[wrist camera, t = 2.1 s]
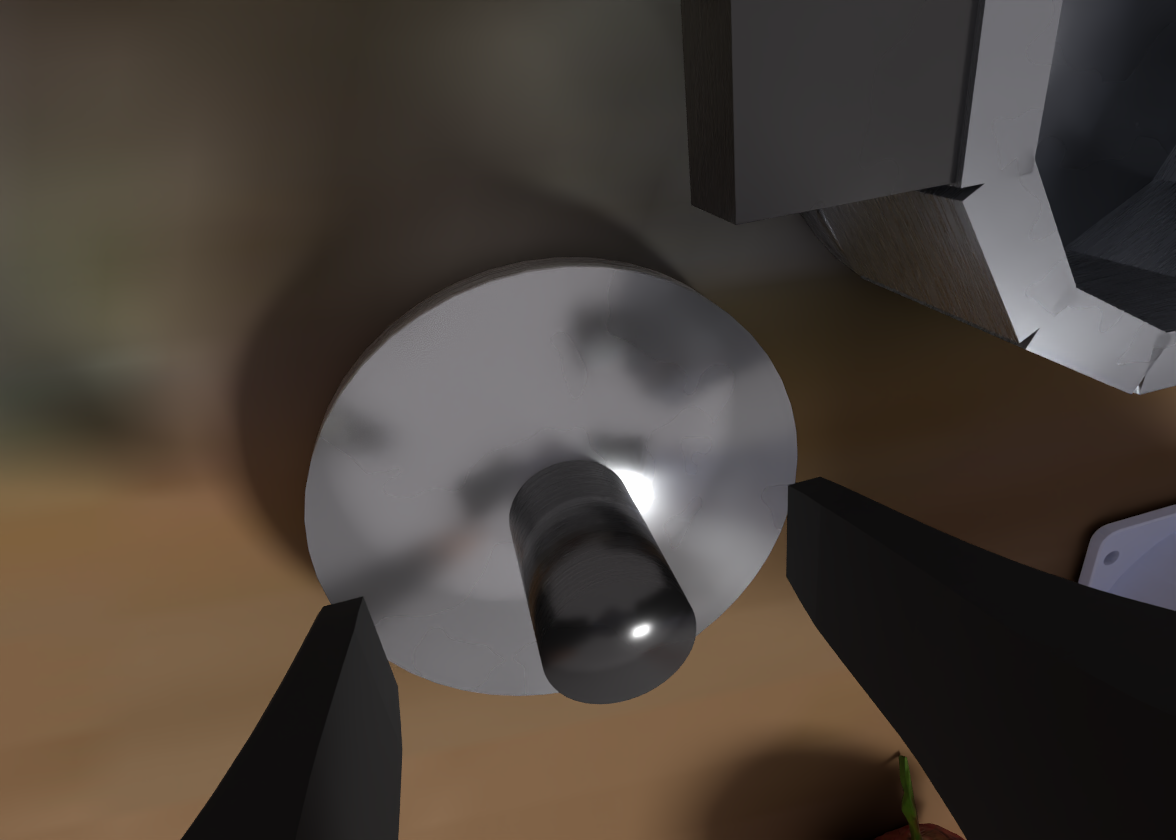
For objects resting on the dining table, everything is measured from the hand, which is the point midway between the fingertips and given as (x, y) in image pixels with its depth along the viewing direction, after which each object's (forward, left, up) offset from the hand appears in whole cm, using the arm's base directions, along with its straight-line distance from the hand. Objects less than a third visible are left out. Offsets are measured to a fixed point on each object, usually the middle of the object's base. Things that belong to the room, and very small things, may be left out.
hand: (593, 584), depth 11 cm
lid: (0, 0, -4) cm, 4 cm away
